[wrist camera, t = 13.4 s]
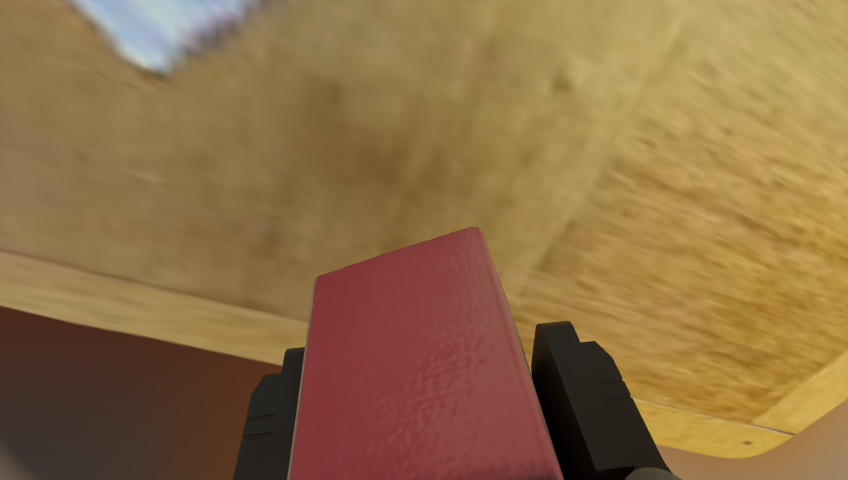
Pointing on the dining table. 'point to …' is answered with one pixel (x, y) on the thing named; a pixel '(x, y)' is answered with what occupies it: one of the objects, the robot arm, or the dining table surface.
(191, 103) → the dining table surface
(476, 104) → the dining table surface
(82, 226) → the dining table surface
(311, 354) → the small box
